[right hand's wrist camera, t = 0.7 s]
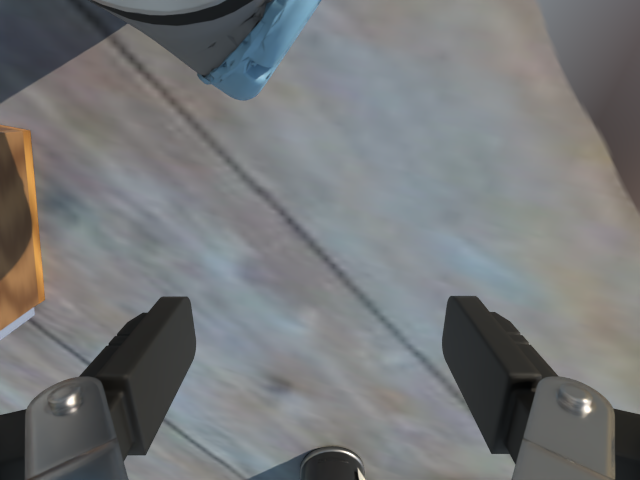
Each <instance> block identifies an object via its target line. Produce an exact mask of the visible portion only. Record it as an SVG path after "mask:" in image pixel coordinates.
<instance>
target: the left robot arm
mask: <svg viewBox="0 0 640 480" xmlns="http://www.w3.org/2000/svg"><path fill="white" fill-rule="evenodd" d="M89 1H91V2H92V3H94V4H96V5H97V6H99V7H101V8H102V9H104V10H106V11H108V12H109V13H111V14H113V15H114V16H116V17H118V18H119V19H121V20H123V21H125V22H126V23H128V24H130V25H131V26H133V27H135V28H137V29H138V30H140V31H141V32H143V33H144V34H146V35H147V36H149V37H150V38H152V39H153V40H154V41H156V42H157V43H159V44H160V45H161V46H163V47H164V48H165V49H167V50H168V51H169V52H171V53H172V54H173V55H175V56H176V57H177V58H179V59H180V60H181V61H183V62H184V63H185V64H186V65H188V66H189V67H190V68H192V69H193V70H194V71H196V72H197V75H198V77H199V79H200V80H201V81H203V82H204V83H205V84H212V85H214V86H215V87H217V88H218V89H220V90H221V91H223V92H224V93H226V94H227V95H229V96H230V97H232V98H234V99H237V100H249V99H251V98H253V97H255V96H256V95H258V94H259V92H260V91H261V90H262V88H263V87H264V85H265V84H266V83H267V81H268V80H269V78H270V77H271V75H272V74H273V72H274V71H275V69H276V68H277V66H278V65H279V63H280V62H281V60H282V59H283V57H284V56H285V54H286V53H287V51H288V50H289V48H290V47H291V45H292V44H293V42H294V41H295V39H296V38H297V36H298V35H299V33H300V32H301V30H302V29H303V27H304V26H305V24H306V23H307V21H308V20H309V18H310V17H311V15H312V14H313V12H314V11H315V9H316V8H317V6H318V5H319V3H320V2H321V0H89Z"/></svg>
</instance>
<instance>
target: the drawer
mask: <svg viewBox="0 0 640 480" xmlns="http://www.w3.org/2000/svg"><path fill="white" fill-rule="evenodd" d="M34 315H35V311H34V307H33V308H32V309H31V310H29V311H28V312H26V313H25V314H23V315H22V316H21V317H19V318H18V319H16V320H15V321H14V322H12V323H11V324H9V325H8V326H7V327H5V328H4V329H2V330H1V331H0V340H1V339H3V338H4V337H6V336H7V335H8V334H10V333H11V332H12V331H14V330H15V329H16V328H18V327H19V326H20V325H22V324H23V323H25V322H26V321H27V320H29V319H30V318H31V317H33V316H34Z"/></svg>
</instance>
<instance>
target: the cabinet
mask: <svg viewBox="0 0 640 480" xmlns="http://www.w3.org/2000/svg"><path fill="white" fill-rule="evenodd" d="M44 300H45V296H44V284H43V272H42V261H41V249H40V238H39V226H38V214H37V203H36V191H35V180H34V168H33V157H32V145H31V133H30V130H25V129H19V128H14V127H9V126H4V125H0V331H1V330H2V329H4V328H5V327H7V326H8V325H9V324H11V323H12V322H14V321H15V320H16V319H18V318H19V317H21V316H22V315H23V314H25V313H26V312H28V311H29V310H31V309H32V308H33V307H35V306H36V305H38V304H40V303H41V302H42V301H44Z"/></svg>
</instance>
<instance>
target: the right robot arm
mask: <svg viewBox="0 0 640 480" xmlns="http://www.w3.org/2000/svg"><path fill="white" fill-rule="evenodd" d="M442 349H443V354H444V358H445V360H446V362H447V364H448V367H449V369H450V371H451V373H452V375H453V377H454V379H455V381H456V383H457V385H458V387H459V389H460V391H461V393H462V395H463V397H464V399H465V401H466V403H467V405H468V407H469V409H470V411H471V413H472V415H473V417H474V419H475V421H476V423H477V425H478V427H479V429H480V431H481V433H482V435H483V437H484V439H485V441H486V443H487V446H488V448H489V450H490V452H491V454H510V455H511V457H512V459H513V461H514V462H515V464H516V465H515V469H514V473H513V476H512V480H640V414H635V413H631V412H626V411H622V410H617V409H613V407H612V406H611V404H610V403H609V401H608V400H607V399H606V398H605V397H604V396H602V395H601V394H600V393H599V392H597V391H596V390H594V389H593V388H591V387H589V386H587V385H585V384H583V383H581V382H578V381H576V380H573V379H569V378H565V377H559V376H558V375H557V374H556V373H555V372H554V371H553V370H552V368H551V367H550V366H549V365H548V364H547V363H546V362H545V361H544V359H543V358H542V357H541V356H540V355H539V354H538V353H537V351H536V350H535V349H534V348H533V347H532V346H531V345H529V342H528V341H527V340H526V339H525V338H524V337H523V336H522V335H520V332H519V331H518V330H517V329H516V328H515V327H514V325H513V324H512V323H511V322H510V321H508V320H507V319H505V318H504V317H502V316H500V315H499V314H497V313H496V312H489V311H488V309H487V308H486V307H485V306H484V304H483V303H482V302H481V301H480V300H479V298H478V297H476V296H450V297H449V299H448V302H447V308H446V315H445V323H444V330H443V337H442ZM195 351H196V337H195V330H194V323H193V316H192V309H191V302H190V300H189V298H188V297H161V298H160V299H159V300H158V301H157V302H156V304H155V305H154V306H153V307H152V308H151V310H150V311H149V312H148V313H142V314H140V315H139V316H137V317H135V318H134V319H132V320H130V321H129V322H127V323H126V325H125V326H124V327H123V328H122V329H121V330H120V331H119V332H118V334H117V336H115V337H114V338H113V339H112V340H111V341H110V343H109V345H108V346H106V347H105V348H104V349H103V350H102V351H101V353H100V354H99V355H98V356H97V357H96V358H95V359H94V360H93V362H92V363H91V364H90V365H89V366H88V367H87V368H86V369H85V371H84V372H83V373H82V374H81V375H80V376H79V377H75V378H71V379H67V380H64V381H62V382H59V383H57V384H55V385H53V386H51V387H49V388H47V389H46V390H44V391H43V392H41V393H40V394H39V395H38V396H36V397H35V398H34V399H33V400H32V401H31V403H30V404H29V406H28V407H27V409H25V410H21V411H16V412H12V413H8V414H3V415H0V480H128V476H127V473H126V469H125V465H124V460H125V458H126V457H127V455H146V453H147V451H148V449H149V447H150V445H151V443H152V441H153V439H154V437H155V435H156V433H157V431H158V429H159V427H160V425H161V423H162V421H163V419H164V417H165V415H166V413H167V411H168V409H169V407H170V405H171V403H172V401H173V399H174V397H175V395H176V393H177V391H178V389H179V387H180V385H181V383H182V381H183V379H184V377H185V375H186V373H187V371H188V369H189V367H190V365H191V363H192V361H193V359H194V356H195ZM364 475H365V472H364V465H363V462H362V460H361V459H360V457H359V456H358V455H357V454H355V453H354V452H352V451H351V450H348V449H346V448H342V447H334V446H332V447H323V448H319V449H317V450H314V451H312V452H311V453H309V454H308V455H307V456H306V457H305V458H304V459H303V461H302V463H301V466H300V480H365V478H364Z"/></svg>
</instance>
